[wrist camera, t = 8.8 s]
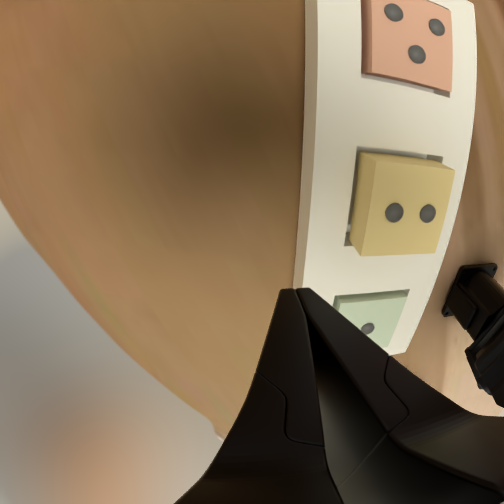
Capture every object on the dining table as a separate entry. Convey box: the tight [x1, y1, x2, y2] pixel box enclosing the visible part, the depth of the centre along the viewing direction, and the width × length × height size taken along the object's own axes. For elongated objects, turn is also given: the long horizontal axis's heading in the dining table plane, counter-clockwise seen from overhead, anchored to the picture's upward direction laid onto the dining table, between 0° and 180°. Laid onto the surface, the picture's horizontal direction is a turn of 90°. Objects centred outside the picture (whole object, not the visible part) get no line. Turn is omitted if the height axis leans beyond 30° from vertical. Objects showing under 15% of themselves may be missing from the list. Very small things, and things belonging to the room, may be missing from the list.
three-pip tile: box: [361, 0, 453, 92], centre depth 13 cm, size 6×6×2 cm
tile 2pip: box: [349, 152, 455, 257], centre depth 17 cm, size 6×6×2 cm
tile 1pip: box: [333, 290, 407, 348], centre depth 24 cm, size 6×6×2 cm
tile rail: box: [293, 0, 477, 355], centre depth 20 cm, size 12×32×3 cm, turn 0°
